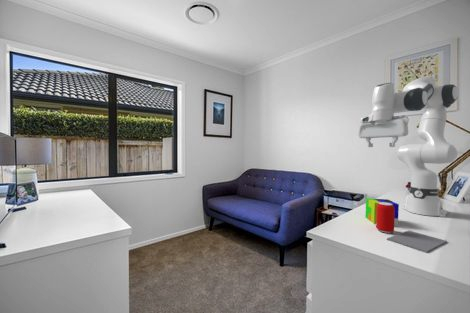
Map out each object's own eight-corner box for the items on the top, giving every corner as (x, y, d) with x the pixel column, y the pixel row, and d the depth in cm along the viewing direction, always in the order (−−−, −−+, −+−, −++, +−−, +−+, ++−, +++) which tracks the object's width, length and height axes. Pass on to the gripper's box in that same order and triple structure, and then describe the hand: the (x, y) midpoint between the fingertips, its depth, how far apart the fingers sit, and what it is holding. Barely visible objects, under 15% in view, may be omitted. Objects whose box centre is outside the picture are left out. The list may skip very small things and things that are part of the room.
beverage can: (377, 227, 95) (377, 201, 95) (394, 231, 91) (395, 203, 91) (375, 231, 90) (376, 203, 90) (393, 235, 86) (394, 206, 86)
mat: (408, 231, 91) (408, 230, 91) (447, 242, 80) (447, 240, 80) (386, 239, 82) (387, 238, 82) (426, 252, 71) (426, 251, 71)
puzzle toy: (398, 225, 98) (398, 204, 98) (374, 223, 100) (374, 202, 100) (387, 218, 108) (387, 199, 108) (365, 217, 110) (366, 198, 110)
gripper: (412, 115, 93) (410, 147, 93) (364, 121, 110) (363, 147, 111) (405, 113, 90) (403, 146, 90) (357, 119, 107) (355, 146, 107)
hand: (380, 147), depth 100 cm, fingers open, 8 cm apart
